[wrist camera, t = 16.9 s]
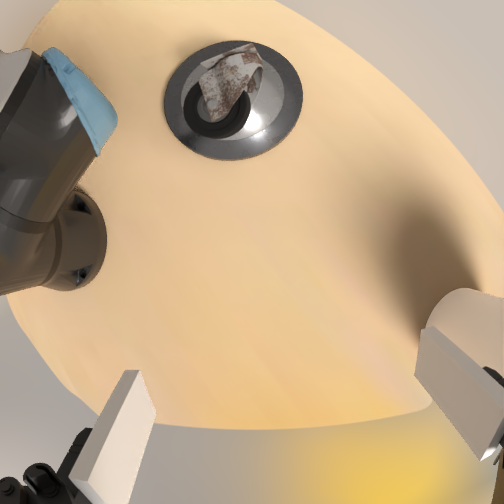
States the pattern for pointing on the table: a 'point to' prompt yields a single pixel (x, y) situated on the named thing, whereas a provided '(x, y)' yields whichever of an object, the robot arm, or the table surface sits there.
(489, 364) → the canister
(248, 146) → the carrier plate
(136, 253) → the table surface
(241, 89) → the caster wheel
